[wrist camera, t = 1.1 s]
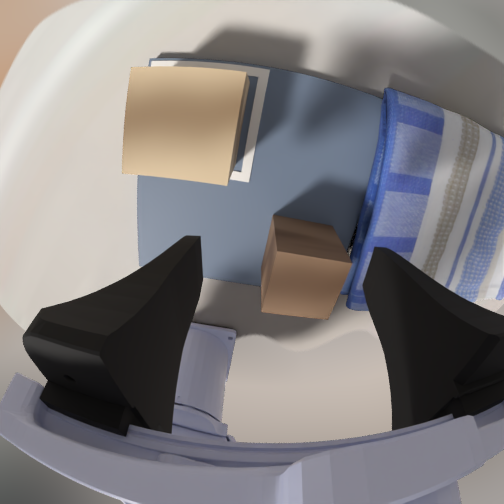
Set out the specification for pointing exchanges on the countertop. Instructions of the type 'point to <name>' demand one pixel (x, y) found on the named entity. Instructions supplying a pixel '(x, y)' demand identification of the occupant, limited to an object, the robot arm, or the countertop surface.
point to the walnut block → (302, 268)
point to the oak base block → (184, 122)
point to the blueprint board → (268, 172)
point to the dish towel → (433, 200)
